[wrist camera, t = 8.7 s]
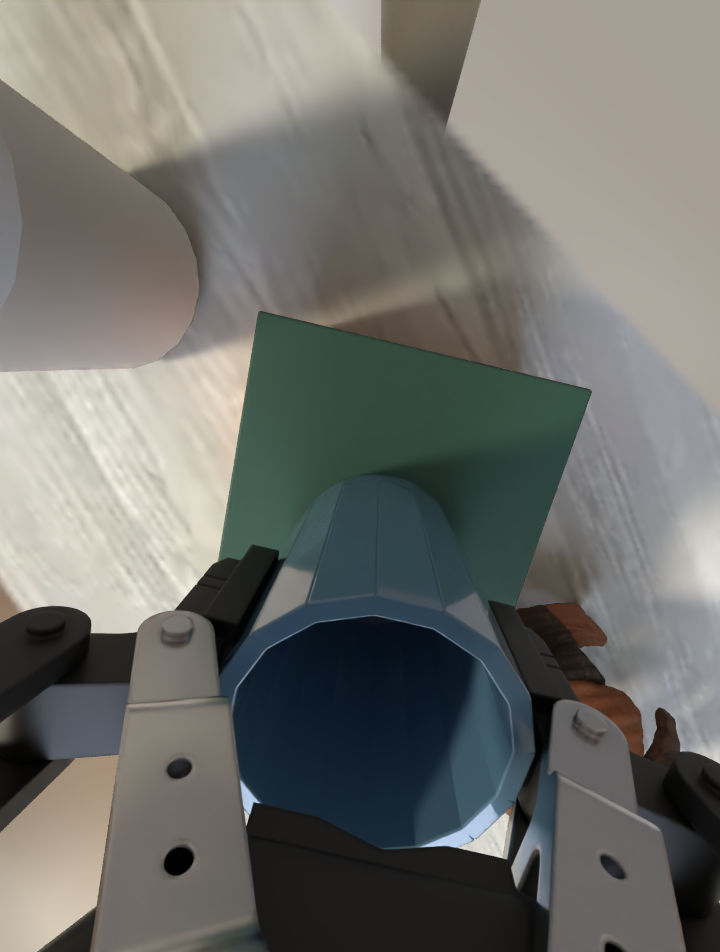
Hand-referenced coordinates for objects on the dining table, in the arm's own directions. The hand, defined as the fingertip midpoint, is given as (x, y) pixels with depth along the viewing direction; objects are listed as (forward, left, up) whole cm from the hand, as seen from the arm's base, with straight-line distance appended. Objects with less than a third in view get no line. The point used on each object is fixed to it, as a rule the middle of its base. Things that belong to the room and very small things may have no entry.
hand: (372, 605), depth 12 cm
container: (0, 0, -9) cm, 9 cm away
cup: (0, 0, -3) cm, 3 cm away
